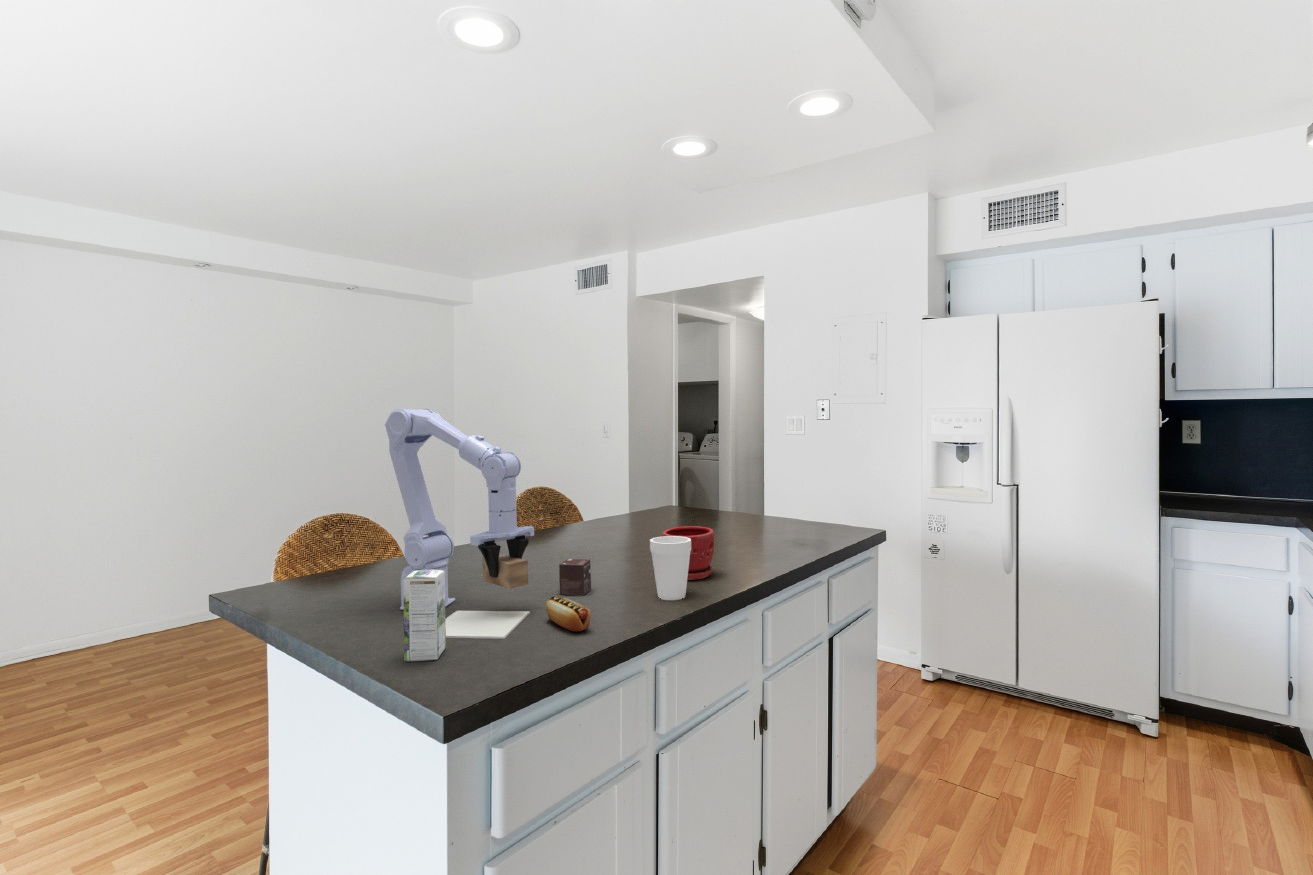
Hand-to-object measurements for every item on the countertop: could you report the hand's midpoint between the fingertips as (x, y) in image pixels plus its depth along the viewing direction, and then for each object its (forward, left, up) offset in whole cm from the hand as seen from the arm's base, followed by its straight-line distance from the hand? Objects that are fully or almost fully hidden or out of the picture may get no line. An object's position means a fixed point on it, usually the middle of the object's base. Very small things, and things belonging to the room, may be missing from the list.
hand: (504, 574), depth 138 cm
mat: (-3, -8, -8) cm, 12 cm away
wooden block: (0, 0, -2) cm, 2 cm away
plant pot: (+37, +33, -9) cm, 51 cm away
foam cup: (+34, +14, -9) cm, 38 cm away
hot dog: (+15, -8, -9) cm, 19 cm away
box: (+11, +17, -9) cm, 23 cm away
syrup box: (-6, -25, -9) cm, 27 cm away
